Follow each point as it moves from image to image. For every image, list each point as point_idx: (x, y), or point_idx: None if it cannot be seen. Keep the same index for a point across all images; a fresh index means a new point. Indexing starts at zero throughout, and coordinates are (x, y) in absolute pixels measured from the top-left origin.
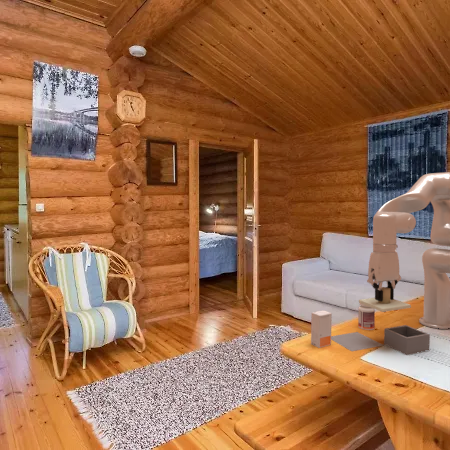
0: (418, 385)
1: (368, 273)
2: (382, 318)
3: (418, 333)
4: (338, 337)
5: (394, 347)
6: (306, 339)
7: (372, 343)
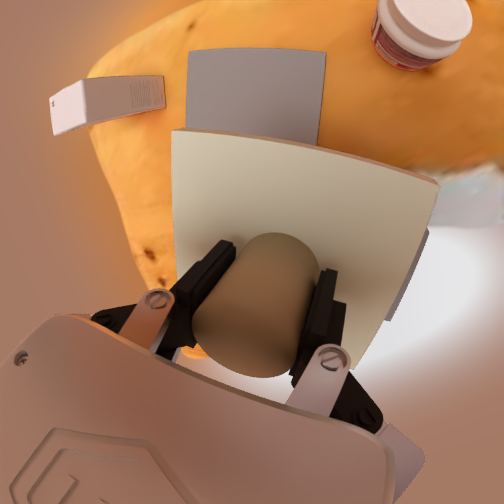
0: None
1: (16, 352)
2: None
3: None
4: (218, 66)
5: None
6: (136, 48)
7: None
